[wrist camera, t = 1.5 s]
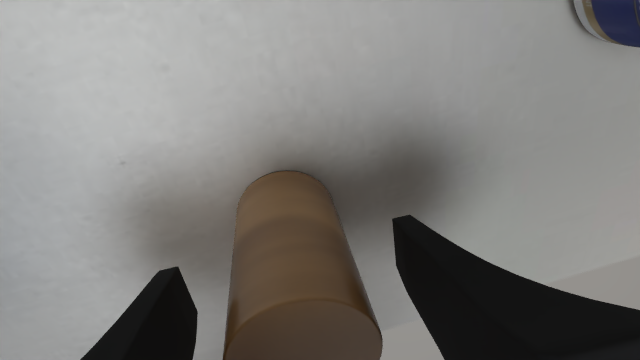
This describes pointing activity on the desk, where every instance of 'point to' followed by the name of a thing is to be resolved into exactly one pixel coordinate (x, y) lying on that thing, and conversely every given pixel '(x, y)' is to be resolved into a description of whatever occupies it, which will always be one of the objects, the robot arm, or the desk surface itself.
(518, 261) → the desk surface
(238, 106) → the desk surface
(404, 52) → the desk surface
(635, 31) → the pill bottle
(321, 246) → the brown cylinder
